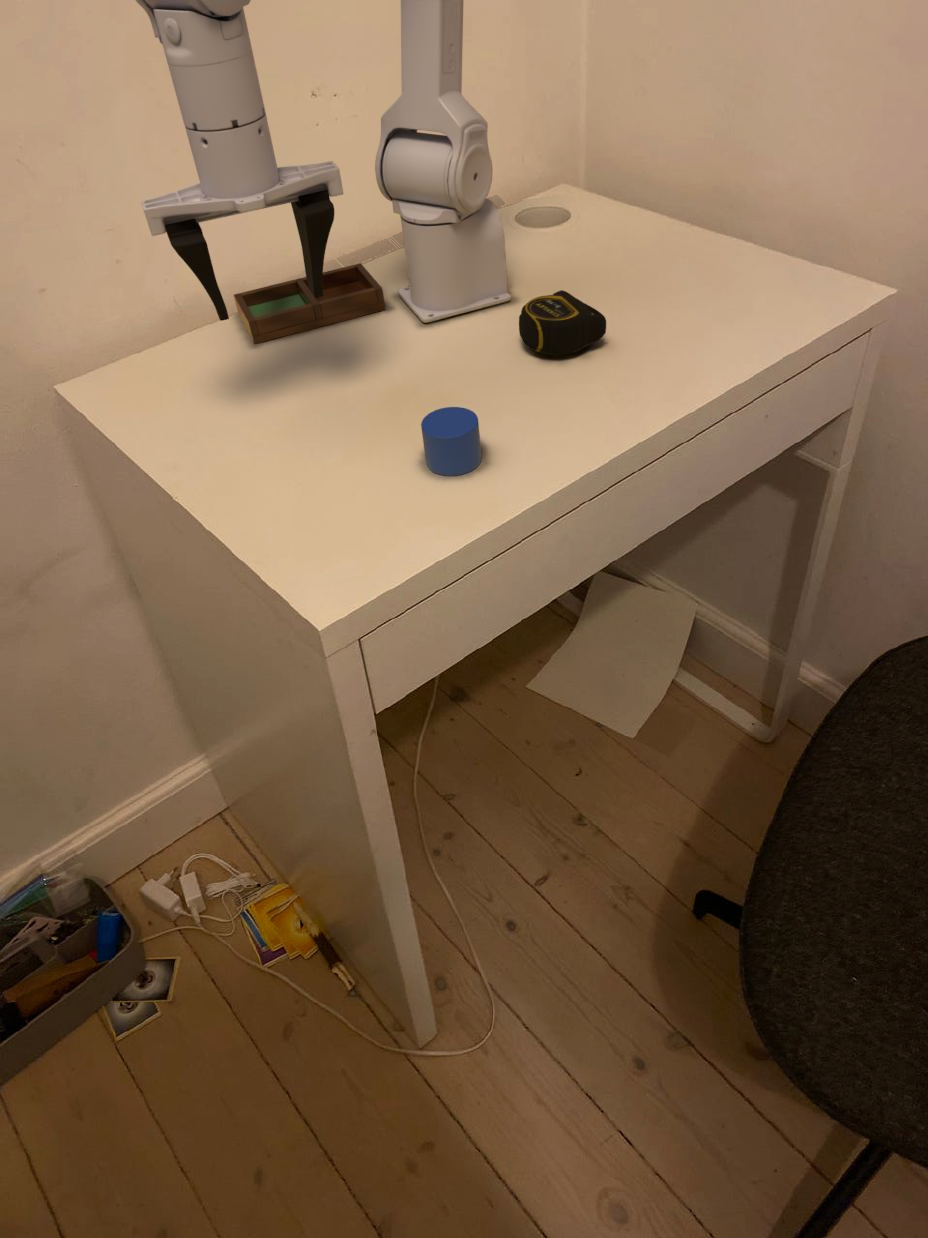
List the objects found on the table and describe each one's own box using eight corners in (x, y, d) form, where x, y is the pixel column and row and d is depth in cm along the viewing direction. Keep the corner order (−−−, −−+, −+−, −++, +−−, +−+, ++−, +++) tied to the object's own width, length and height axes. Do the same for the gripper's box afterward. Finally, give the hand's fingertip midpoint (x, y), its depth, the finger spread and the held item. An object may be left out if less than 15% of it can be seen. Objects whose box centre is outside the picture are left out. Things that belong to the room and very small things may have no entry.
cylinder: (468, 438, 76) (465, 400, 73) (490, 466, 72) (487, 427, 70) (418, 454, 75) (413, 416, 72) (438, 482, 72) (432, 443, 69)
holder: (364, 283, 99) (360, 262, 97) (385, 309, 94) (382, 287, 92) (239, 315, 96) (233, 294, 94) (254, 344, 91) (248, 322, 89)
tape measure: (609, 348, 84) (610, 309, 82) (545, 371, 82) (544, 331, 80) (568, 320, 89) (568, 282, 86) (506, 341, 87) (504, 303, 84)
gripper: (126, 155, 61) (187, 346, 70) (339, 112, 64) (370, 301, 73) (117, 127, 66) (175, 309, 75) (314, 89, 69) (346, 269, 78)
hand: (270, 303), depth 74 cm, fingers open, 7 cm apart
